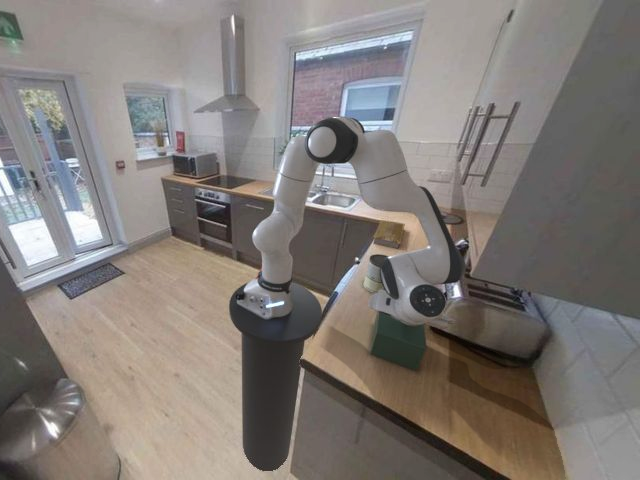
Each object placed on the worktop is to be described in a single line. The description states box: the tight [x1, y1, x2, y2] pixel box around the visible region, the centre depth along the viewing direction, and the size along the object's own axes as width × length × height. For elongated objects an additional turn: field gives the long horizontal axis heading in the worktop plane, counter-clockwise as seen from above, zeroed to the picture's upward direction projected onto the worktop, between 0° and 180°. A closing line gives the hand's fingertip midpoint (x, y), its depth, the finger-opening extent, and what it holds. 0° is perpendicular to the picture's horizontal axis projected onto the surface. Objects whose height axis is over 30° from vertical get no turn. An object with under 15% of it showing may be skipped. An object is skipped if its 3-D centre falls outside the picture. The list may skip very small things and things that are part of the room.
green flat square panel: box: [377, 312, 427, 351], centre depth 80 cm, size 14×13×1 cm
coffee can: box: [362, 253, 390, 294], centre depth 110 cm, size 10×10×14 cm
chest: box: [369, 311, 426, 372], centre depth 82 cm, size 14×13×9 cm
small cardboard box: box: [372, 219, 406, 249], centre depth 160 cm, size 35×14×6 cm, turn 146°
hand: (401, 314), depth 82 cm, fingers closed, pressing on green flat square panel
